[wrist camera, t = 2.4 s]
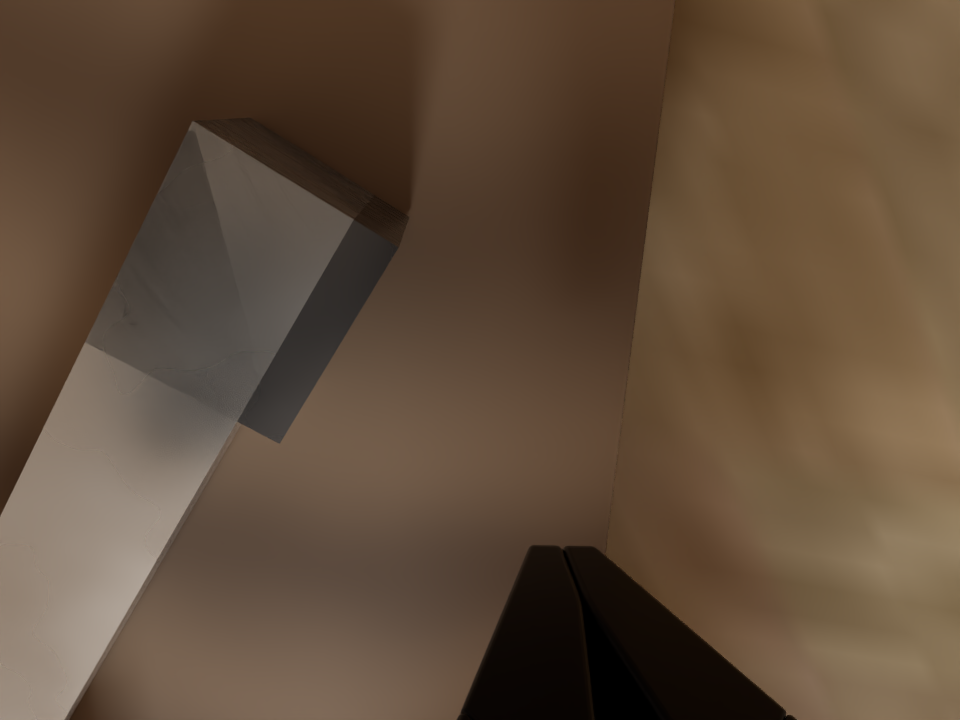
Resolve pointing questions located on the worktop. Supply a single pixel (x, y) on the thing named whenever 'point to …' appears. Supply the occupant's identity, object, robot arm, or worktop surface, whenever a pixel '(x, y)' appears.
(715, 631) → the worktop surface
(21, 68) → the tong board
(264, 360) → the bar
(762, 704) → the robot arm
